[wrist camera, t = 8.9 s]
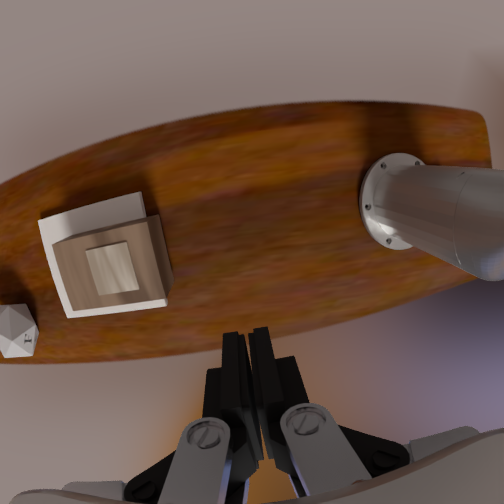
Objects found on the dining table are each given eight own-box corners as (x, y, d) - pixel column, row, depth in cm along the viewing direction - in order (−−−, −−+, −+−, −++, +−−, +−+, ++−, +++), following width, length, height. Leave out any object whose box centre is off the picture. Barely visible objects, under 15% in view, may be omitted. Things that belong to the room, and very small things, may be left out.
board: (141, 191, 31) (138, 191, 30) (167, 302, 35) (166, 305, 34) (41, 219, 31) (37, 220, 30) (70, 314, 34) (67, 318, 33)
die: (36, 349, 36) (37, 373, 29) (-6, 337, 31) (-15, 360, 23) (42, 304, 37) (42, 320, 30) (-2, 290, 32) (-12, 304, 24)
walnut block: (146, 222, 26) (50, 245, 26) (165, 299, 28) (72, 311, 28) (158, 214, 31) (72, 234, 31) (174, 281, 33) (89, 294, 33)
